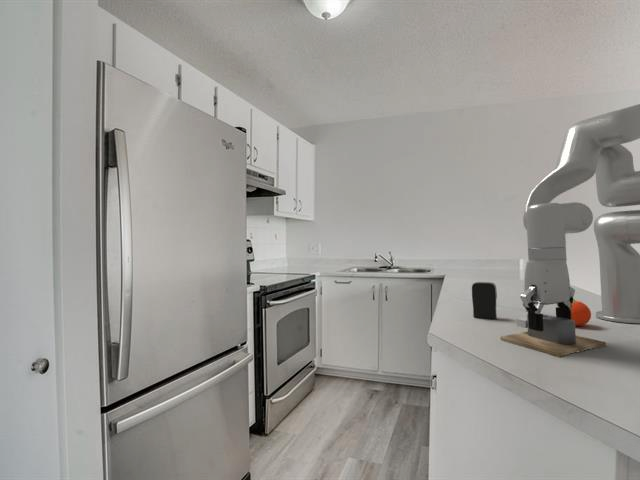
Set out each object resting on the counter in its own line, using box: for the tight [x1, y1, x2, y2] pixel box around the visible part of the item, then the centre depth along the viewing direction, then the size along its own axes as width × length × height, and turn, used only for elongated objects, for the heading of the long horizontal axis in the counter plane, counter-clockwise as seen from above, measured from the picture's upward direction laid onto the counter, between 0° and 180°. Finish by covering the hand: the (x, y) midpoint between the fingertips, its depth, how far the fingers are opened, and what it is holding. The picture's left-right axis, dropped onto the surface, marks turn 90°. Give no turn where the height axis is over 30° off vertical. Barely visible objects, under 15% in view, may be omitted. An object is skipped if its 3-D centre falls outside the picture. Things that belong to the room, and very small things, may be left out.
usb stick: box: [516, 313, 577, 345], centre depth 80 cm, size 13×4×5 cm, turn 21°
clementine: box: [571, 299, 592, 327], centre depth 92 cm, size 8×7×7 cm
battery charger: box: [471, 281, 498, 320], centre depth 106 cm, size 7×4×11 cm, turn 53°
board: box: [500, 331, 607, 357], centre depth 79 cm, size 16×14×1 cm
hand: (550, 327), depth 79 cm, fingers open, 9 cm apart
